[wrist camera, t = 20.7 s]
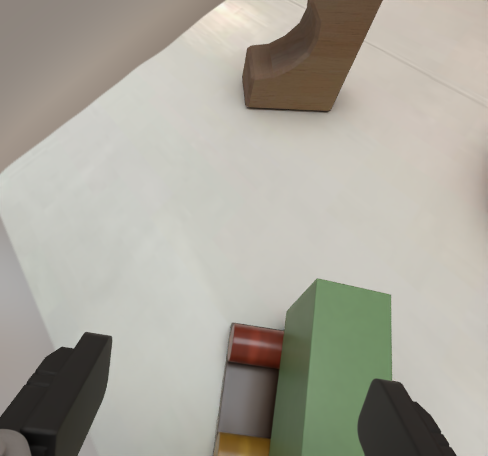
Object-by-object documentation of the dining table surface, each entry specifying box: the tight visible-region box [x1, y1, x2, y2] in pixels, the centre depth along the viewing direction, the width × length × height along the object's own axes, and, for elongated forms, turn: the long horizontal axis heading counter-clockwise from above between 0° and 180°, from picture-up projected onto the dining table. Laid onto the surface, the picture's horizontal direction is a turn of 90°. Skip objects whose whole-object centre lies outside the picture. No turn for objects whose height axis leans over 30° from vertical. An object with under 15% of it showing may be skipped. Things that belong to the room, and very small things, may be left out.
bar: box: [269, 279, 392, 456], centre depth 25 cm, size 5×14×8 cm, turn 170°
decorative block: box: [242, 0, 383, 111], centre depth 40 cm, size 11×6×20 cm, turn 94°
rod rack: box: [213, 323, 284, 456], centre depth 30 cm, size 12×12×4 cm
